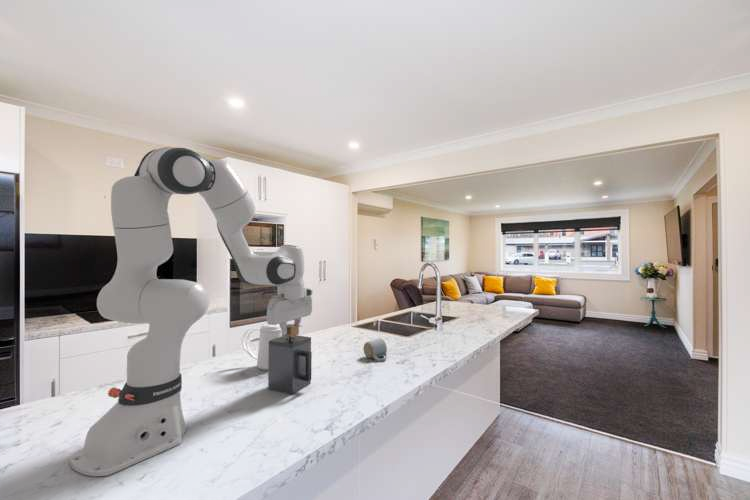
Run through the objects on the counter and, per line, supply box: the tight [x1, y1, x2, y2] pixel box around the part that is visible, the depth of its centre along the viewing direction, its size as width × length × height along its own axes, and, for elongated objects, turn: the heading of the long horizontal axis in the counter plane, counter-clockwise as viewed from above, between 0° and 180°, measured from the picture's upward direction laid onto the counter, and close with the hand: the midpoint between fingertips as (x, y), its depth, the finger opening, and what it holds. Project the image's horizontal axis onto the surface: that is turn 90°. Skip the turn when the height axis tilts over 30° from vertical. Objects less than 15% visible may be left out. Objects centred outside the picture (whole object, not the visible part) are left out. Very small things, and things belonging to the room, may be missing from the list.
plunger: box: [282, 323, 300, 340], centre depth 114 cm, size 7×7×19 cm
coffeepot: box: [242, 322, 304, 371], centre depth 134 cm, size 11×25×19 cm, turn 84°
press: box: [267, 334, 312, 396], centre depth 114 cm, size 10×13×16 cm
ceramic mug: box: [363, 337, 388, 362], centre depth 145 cm, size 11×8×8 cm
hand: (290, 332), depth 114 cm, fingers closed on plunger, 4 cm apart
